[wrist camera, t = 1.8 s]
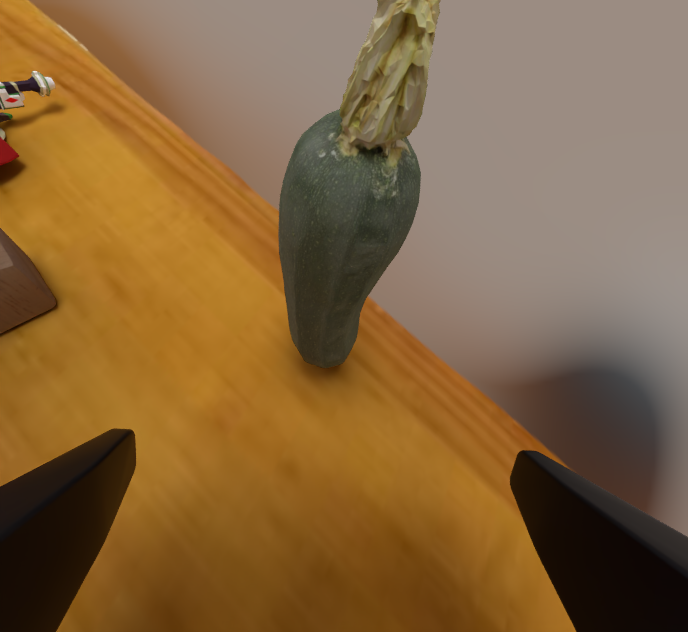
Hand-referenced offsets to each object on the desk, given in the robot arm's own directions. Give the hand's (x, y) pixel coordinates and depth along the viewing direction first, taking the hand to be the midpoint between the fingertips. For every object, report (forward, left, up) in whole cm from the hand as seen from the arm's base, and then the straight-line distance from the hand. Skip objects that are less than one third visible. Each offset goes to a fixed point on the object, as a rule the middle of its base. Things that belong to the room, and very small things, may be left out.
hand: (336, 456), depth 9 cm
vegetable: (+7, -4, -13) cm, 16 cm away
